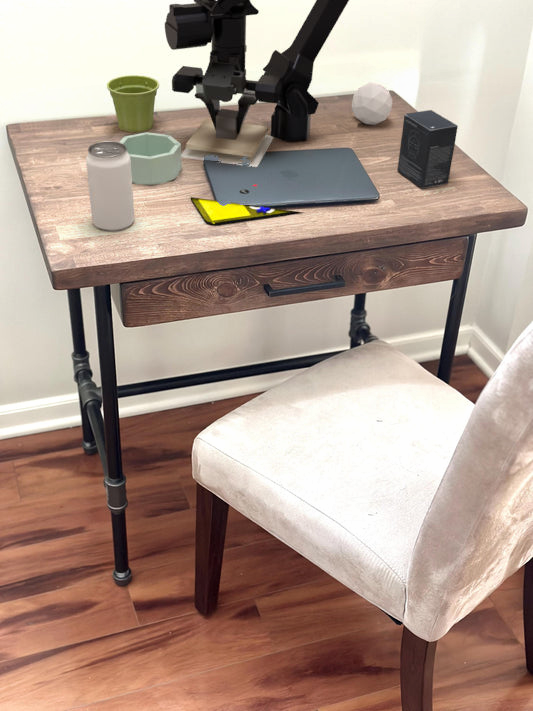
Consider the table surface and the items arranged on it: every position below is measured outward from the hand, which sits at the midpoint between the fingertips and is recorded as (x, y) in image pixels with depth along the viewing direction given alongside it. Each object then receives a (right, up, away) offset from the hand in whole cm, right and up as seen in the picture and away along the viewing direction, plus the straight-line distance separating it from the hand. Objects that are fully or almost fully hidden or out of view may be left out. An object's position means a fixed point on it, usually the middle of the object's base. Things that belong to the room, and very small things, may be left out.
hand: (228, 131), depth 154 cm
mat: (0, -3, +2) cm, 4 cm away
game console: (+4, -16, -14) cm, 21 cm away
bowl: (-13, -9, -7) cm, 18 cm away
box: (+34, -9, -4) cm, 35 cm away
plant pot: (-18, +2, +8) cm, 20 cm away
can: (-17, -19, -20) cm, 33 cm away
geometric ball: (+27, +5, +15) cm, 31 cm away
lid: (0, -1, +1) cm, 1 cm away
